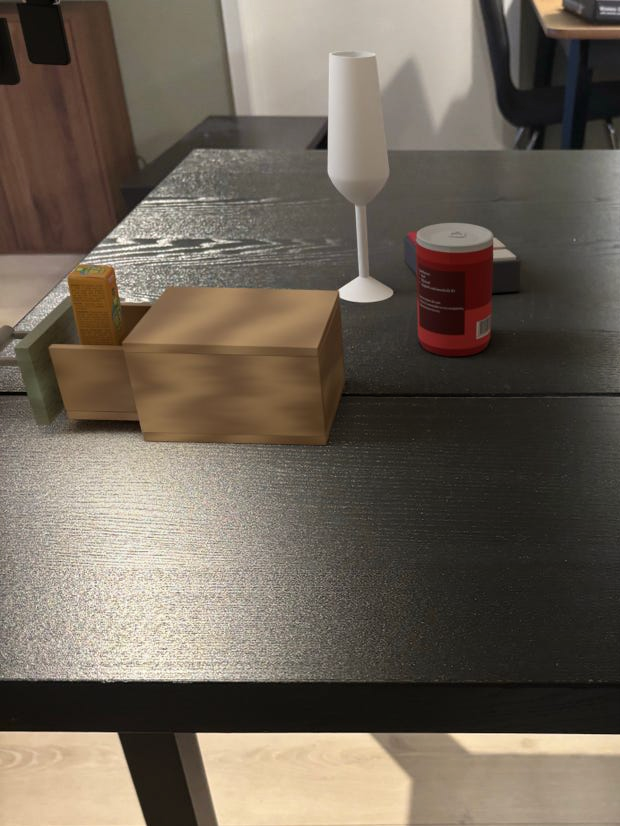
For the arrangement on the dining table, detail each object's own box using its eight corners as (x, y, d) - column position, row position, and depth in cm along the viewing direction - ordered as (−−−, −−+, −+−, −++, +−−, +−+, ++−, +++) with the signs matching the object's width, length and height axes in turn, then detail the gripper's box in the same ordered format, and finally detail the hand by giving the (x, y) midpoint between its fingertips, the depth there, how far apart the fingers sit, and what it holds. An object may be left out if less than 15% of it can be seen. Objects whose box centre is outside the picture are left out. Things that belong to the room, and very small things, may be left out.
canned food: (483, 327, 102) (486, 221, 95) (497, 356, 96) (501, 244, 89) (413, 330, 101) (411, 223, 94) (422, 359, 95) (421, 246, 88)
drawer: (-31, 423, 80) (-58, 345, 75) (25, 365, 89) (4, 293, 85) (206, 429, 80) (192, 352, 76) (237, 371, 90) (226, 299, 85)
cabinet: (143, 440, 80) (121, 342, 75) (184, 376, 91) (167, 286, 85) (326, 445, 80) (317, 347, 75) (345, 380, 91) (339, 290, 85)
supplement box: (130, 391, 83) (104, 276, 77) (90, 392, 83) (61, 276, 76) (137, 376, 85) (113, 263, 79) (99, 376, 85) (71, 263, 79)
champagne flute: (325, 296, 109) (306, 55, 94) (355, 279, 114) (341, 47, 99) (375, 306, 107) (363, 60, 92) (403, 289, 112) (397, 53, 97)
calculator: (486, 225, 120) (521, 253, 109) (486, 260, 123) (520, 291, 111) (402, 229, 118) (429, 259, 106) (404, 265, 120) (430, 298, 109)
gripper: (-41, -226, 67) (23, 55, 77) (-182, -256, 53) (-81, 90, 64) (64, -220, 67) (113, 60, 77) (-50, -249, 53) (29, 95, 64)
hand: (25, 73), depth 71 cm, fingers open, 9 cm apart
